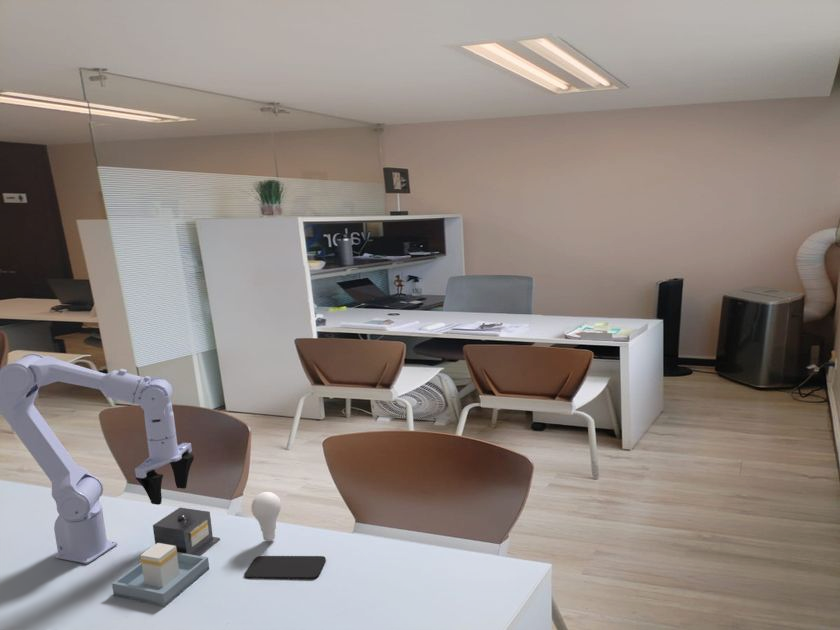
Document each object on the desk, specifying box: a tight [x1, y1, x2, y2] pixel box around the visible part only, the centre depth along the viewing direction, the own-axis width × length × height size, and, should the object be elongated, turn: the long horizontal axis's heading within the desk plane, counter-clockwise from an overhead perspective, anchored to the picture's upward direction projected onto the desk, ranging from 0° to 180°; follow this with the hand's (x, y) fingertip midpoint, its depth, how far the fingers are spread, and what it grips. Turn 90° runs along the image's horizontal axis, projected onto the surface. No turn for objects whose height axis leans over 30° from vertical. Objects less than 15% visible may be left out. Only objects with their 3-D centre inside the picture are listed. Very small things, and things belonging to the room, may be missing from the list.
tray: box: [111, 552, 210, 607], centre depth 119 cm, size 12×12×2 cm
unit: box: [152, 507, 221, 556], centre depth 130 cm, size 10×10×8 cm
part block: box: [139, 543, 180, 587], centre depth 118 cm, size 5×5×6 cm
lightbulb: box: [251, 491, 282, 542], centre depth 131 cm, size 6×6×11 cm
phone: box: [243, 555, 327, 581], centre depth 121 cm, size 7×1×15 cm
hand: (169, 495), depth 133 cm, fingers open, 7 cm apart
